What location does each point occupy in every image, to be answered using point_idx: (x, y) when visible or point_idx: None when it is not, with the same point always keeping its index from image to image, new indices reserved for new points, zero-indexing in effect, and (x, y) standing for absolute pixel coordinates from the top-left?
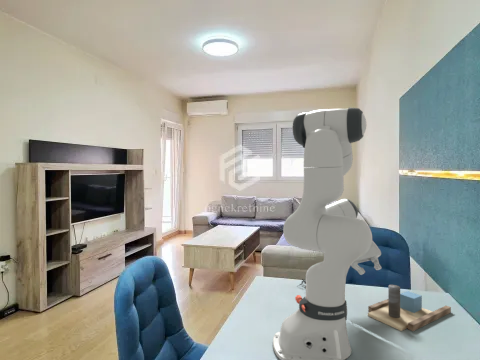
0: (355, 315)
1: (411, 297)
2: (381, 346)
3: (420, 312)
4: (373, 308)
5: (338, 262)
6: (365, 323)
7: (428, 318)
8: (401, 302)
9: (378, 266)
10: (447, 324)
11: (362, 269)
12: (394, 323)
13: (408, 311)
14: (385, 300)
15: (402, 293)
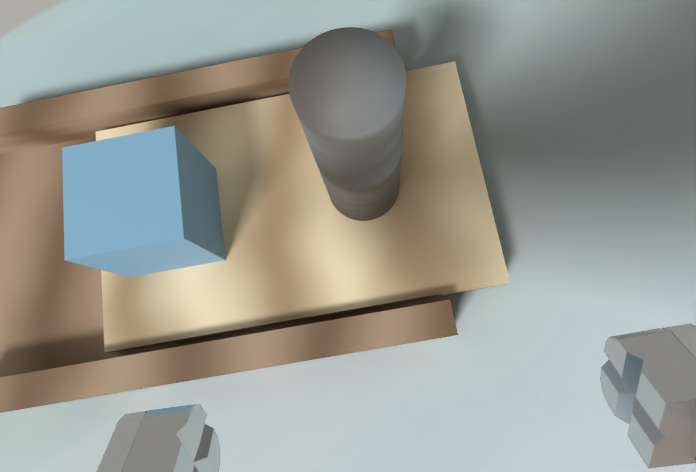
0: (555, 354)
1: (167, 150)
2: (647, 28)
3: None
4: (435, 302)
5: None
6: (564, 240)
7: (226, 64)
8: (208, 241)
9: (181, 426)
10: (131, 73)
11: (689, 366)
12: (450, 110)
13: (228, 195)
14: (246, 363)
15: (154, 238)
